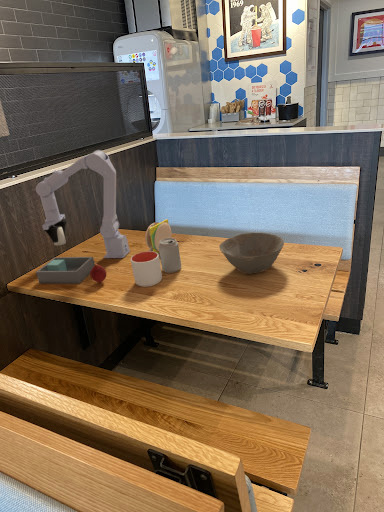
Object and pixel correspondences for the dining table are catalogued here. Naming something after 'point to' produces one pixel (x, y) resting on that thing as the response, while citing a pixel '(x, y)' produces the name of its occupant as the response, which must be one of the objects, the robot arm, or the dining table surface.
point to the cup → (146, 268)
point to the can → (169, 255)
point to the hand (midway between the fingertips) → (59, 239)
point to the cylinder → (60, 236)
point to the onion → (98, 273)
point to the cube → (57, 265)
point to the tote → (75, 271)
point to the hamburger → (157, 234)
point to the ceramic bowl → (252, 251)
